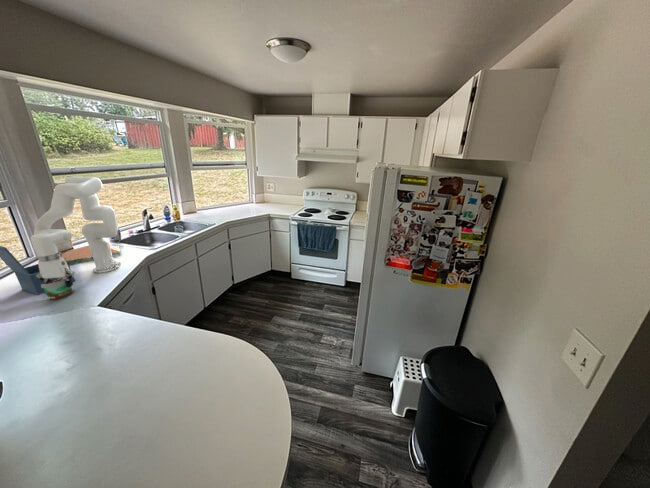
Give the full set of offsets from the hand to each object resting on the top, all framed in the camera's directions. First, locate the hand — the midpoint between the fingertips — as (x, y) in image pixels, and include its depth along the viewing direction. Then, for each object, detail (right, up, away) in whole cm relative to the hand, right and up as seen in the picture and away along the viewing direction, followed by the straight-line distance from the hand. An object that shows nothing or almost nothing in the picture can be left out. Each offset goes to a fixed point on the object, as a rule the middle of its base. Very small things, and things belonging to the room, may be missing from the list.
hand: (60, 287), depth 134 cm
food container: (0, -5, +2) cm, 6 cm away
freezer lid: (-22, +15, -4) cm, 27 cm away
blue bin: (-19, -1, +12) cm, 23 cm away
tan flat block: (-31, +14, +52) cm, 62 cm away
